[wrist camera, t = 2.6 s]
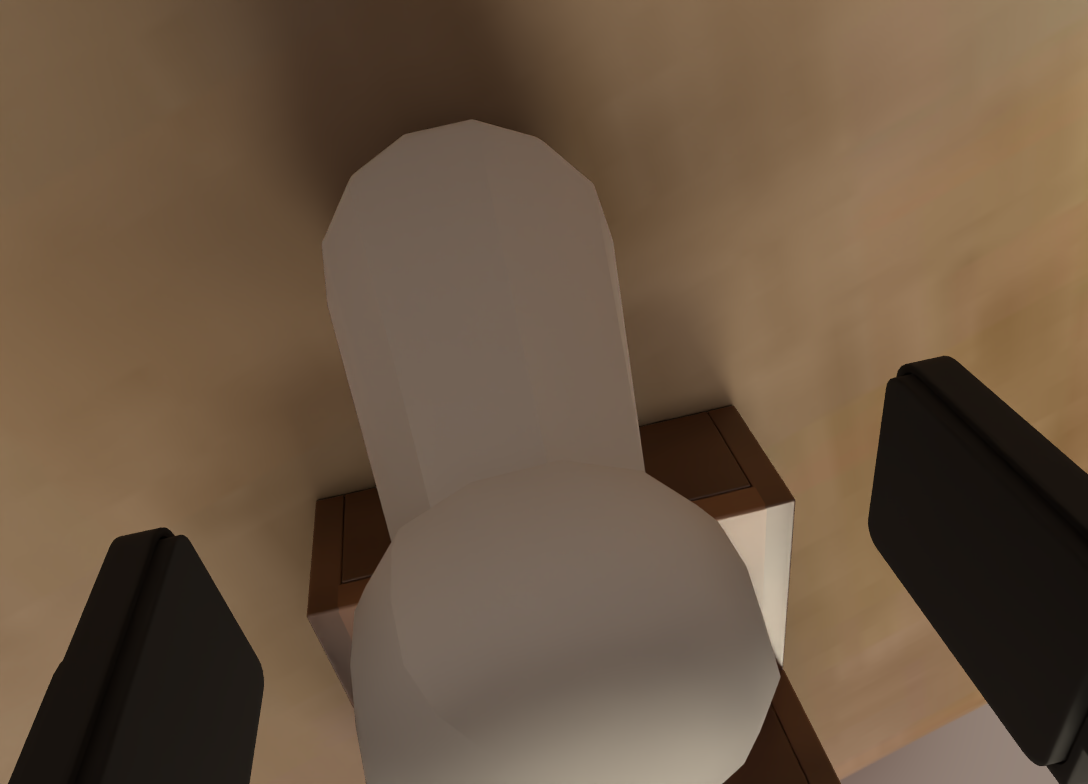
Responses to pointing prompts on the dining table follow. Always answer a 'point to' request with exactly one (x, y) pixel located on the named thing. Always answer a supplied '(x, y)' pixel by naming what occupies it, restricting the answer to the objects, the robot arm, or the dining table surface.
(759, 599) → the spice rack
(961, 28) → the dining table surface
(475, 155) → the salt shaker
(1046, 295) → the dining table surface
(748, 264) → the dining table surface
